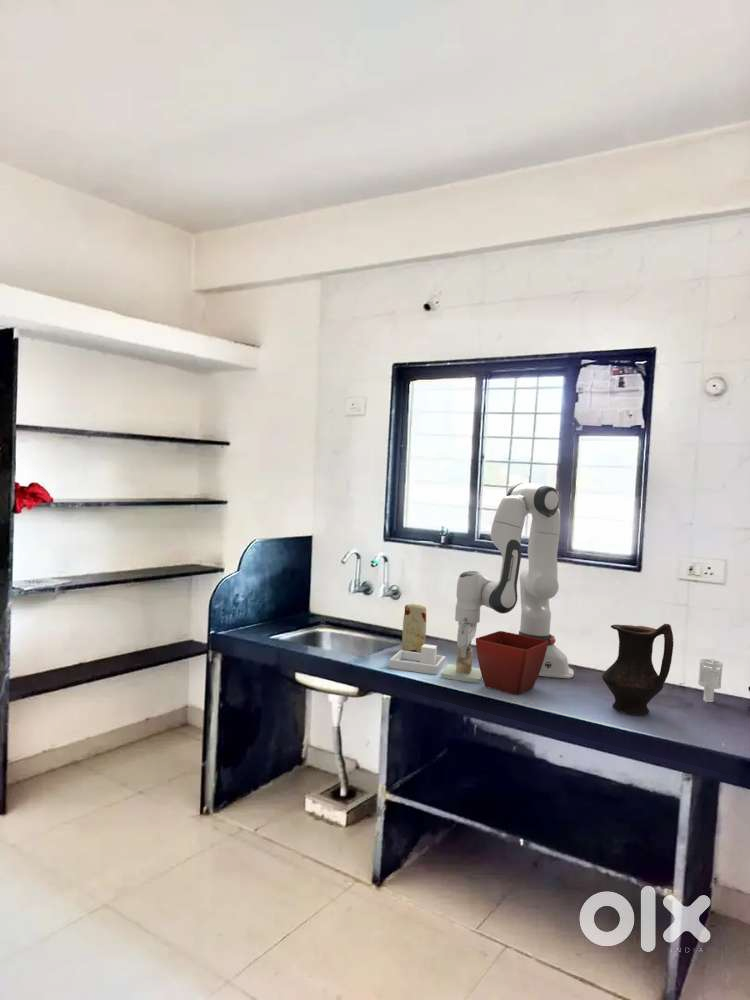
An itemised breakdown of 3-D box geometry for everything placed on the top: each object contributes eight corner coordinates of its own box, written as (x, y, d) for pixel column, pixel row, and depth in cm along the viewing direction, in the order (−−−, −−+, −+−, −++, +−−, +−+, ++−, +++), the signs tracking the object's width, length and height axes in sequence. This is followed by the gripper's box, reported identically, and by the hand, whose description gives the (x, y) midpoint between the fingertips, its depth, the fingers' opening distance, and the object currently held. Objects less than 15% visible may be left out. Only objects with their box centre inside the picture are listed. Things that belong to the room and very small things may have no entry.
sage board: (485, 673, 254) (485, 669, 254) (480, 683, 241) (480, 679, 240) (447, 668, 258) (448, 664, 258) (440, 677, 244) (441, 673, 244)
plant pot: (522, 700, 224) (526, 649, 224) (471, 686, 236) (474, 638, 235) (546, 688, 240) (549, 640, 239) (496, 676, 251) (500, 630, 251)
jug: (588, 708, 221) (595, 615, 220) (615, 697, 234) (622, 610, 233) (653, 728, 206) (661, 628, 205) (678, 715, 219) (685, 622, 218)
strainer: (700, 703, 233) (704, 659, 233) (694, 697, 240) (697, 654, 240) (722, 705, 232) (726, 661, 232) (715, 699, 239) (718, 656, 239)
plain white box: (435, 666, 259) (437, 645, 258) (433, 670, 254) (434, 648, 254) (422, 665, 260) (424, 644, 260) (419, 668, 255) (421, 646, 255)
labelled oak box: (471, 670, 251) (473, 648, 251) (469, 674, 246) (471, 651, 246) (458, 668, 252) (459, 646, 252) (455, 672, 248) (457, 649, 247)
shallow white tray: (445, 664, 263) (445, 656, 263) (436, 674, 248) (437, 666, 248) (399, 657, 268) (400, 650, 268) (388, 667, 253) (389, 659, 253)
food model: (398, 652, 276) (401, 603, 275) (404, 649, 282) (407, 601, 282) (421, 656, 272) (424, 606, 271) (427, 653, 278) (430, 604, 278)
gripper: (471, 622, 238) (469, 662, 238) (480, 612, 258) (478, 648, 258) (453, 620, 240) (451, 659, 240) (463, 610, 259) (461, 646, 260)
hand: (465, 654), depth 249 cm, fingers open, 8 cm apart
